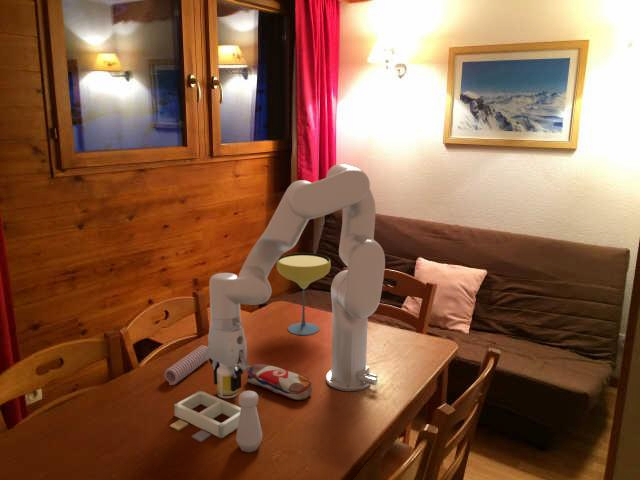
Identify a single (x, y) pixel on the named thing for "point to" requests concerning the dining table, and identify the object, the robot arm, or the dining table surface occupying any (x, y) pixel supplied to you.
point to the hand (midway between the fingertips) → (227, 385)
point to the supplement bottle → (225, 381)
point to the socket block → (208, 413)
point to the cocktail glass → (303, 280)
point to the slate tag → (201, 435)
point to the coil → (186, 365)
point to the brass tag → (179, 425)
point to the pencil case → (280, 381)
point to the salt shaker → (248, 422)
